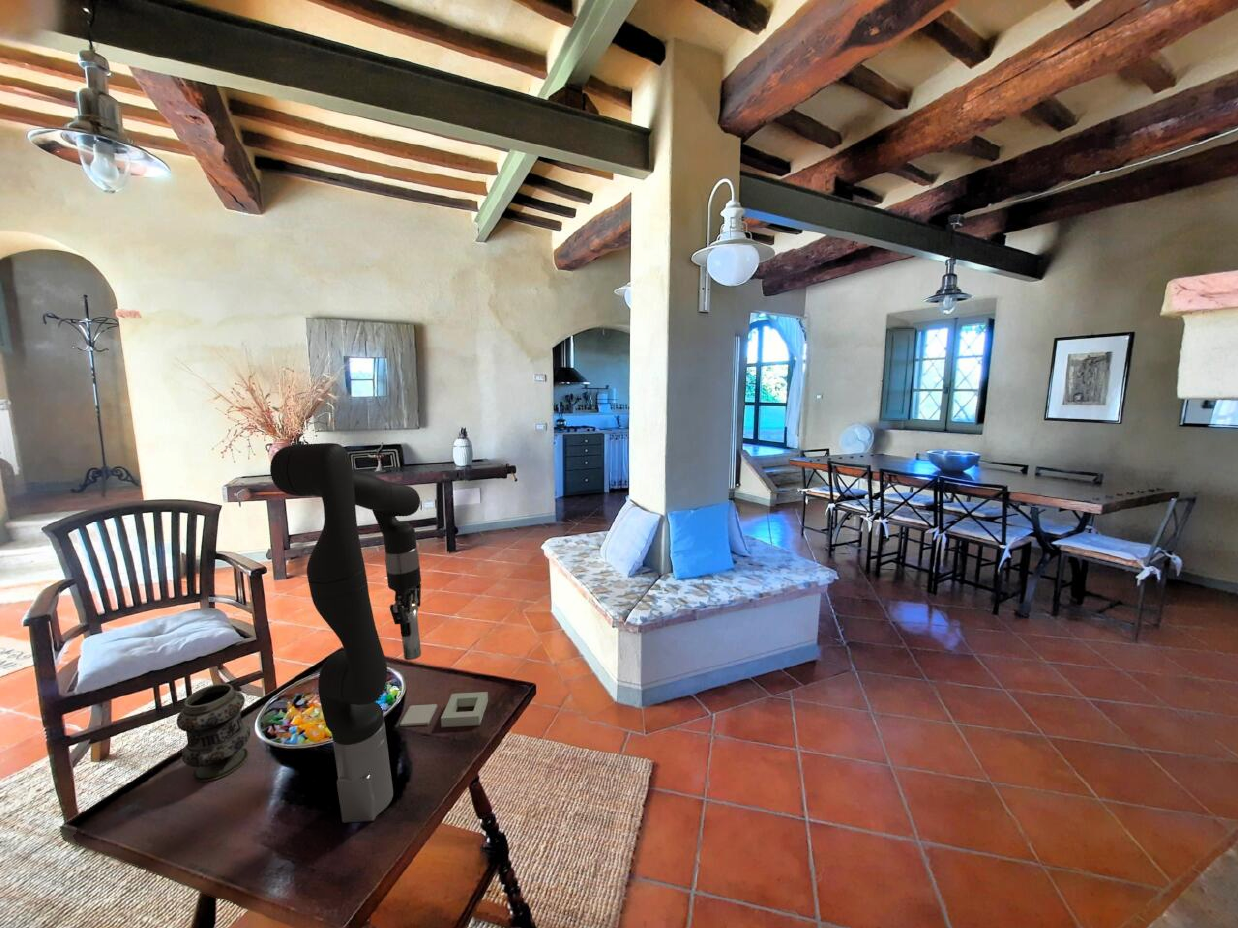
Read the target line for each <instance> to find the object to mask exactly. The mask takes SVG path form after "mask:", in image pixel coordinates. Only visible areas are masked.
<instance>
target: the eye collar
mask: <svg viewBox="0 0 1238 928" xmlns="http://www.w3.org/2000/svg"><path fill="white" fill-rule="evenodd" d="M488 702H489V694H488V691H481V692H461V693H452V694H451V695H450V697H449V700H448V702H447V704H446V706H445V708H444V711H443V712H442V715H441V717H440V724H441V728H449V727H451V728H453V727H466V726H468V727H469V726H480V725H481V723H482V720H483V717H484V713H485V712H486V708H487V705H488ZM460 707H461V708H462V707H463V708H464V707H473V710H472V711H471V710H470V711H457V710H458V708H460Z"/></svg>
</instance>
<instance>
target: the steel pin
mask: <svg viewBox="0 0 1238 928" xmlns="http://www.w3.org/2000/svg"><path fill="white" fill-rule="evenodd" d="M403 609H404V610H407V609H408V607H407V608H403ZM405 616H406V614H405ZM418 619H419V618H418V612H417V609H416V602H415V601H413V602H412V612H410V626H411V635H410V636H409V637H402V636H401V641H402V642H401V643H402V649H403V650H402V651H403V658H404V660H405V661H414V660H417V659H418V658H420V657H421V656H422V650H421V649H422V648H421V640H420V628H419V621H418Z"/></svg>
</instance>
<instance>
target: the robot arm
mask: <svg viewBox="0 0 1238 928" xmlns="http://www.w3.org/2000/svg"><path fill="white" fill-rule="evenodd" d="M269 467H270V468H269V472H270V477H271V480H272V482H273V484H274V486H275V487H276V488H277V489H278V490H279V491H281V493H282V492H283V493H284V494H286V495H290V496H295V497H320V498H321V500H322V502H323V503H322V504H323V512H324V513H323V514H324V515H323V517H324V523H323V526H322V527H323V528H322V531H321V533H320V535H319V537H318V539H317V542H316V543H315V545H314V548H313V550H312V551H311V554H310V555H309V559H308V562H307V565H306V577H307V582H308V586H309V591H310V597H311V599H312V603H313V606H314V608H315V609H316V610H317V612H318V613H319V615H320V616H321V618H322V619H323V620H324V622H325V623H326V625H328V627H329V628H330V629H331V630H332V631H333V633H334V634H335V635H336V636H337V638H338V639H339V641H340V642H341V643H340V644H342V647H343V650H339V651H337V652H333V654H331V655H330V656H329V657H328V658H327V659H326V660H325V661H324V663H323V665H322V667H321V669H320V672H319V676H318V681H317V683H318V684H317V687H318V689H317V690H318V691H317V692H318V697H319V702H320V707H321V711H322V716H323V721H324V724H325V726H326V729H327V730H328V731H330V734H331V738H332V744H333V750H334V757H335V765H336V766H335V767H336V772H337V780H336V787H337V793H338V800H339V806H340V807H339V808H340V813H341V820H342V821H341V822H342V823H353V822H354V823H355V822H356V823H357V822H358V823H359V822H372V821H375V820H376V818H377V816H379V814H380V813H382V812H383V811H384V810H386V808H387V807H388V806H389V804H390V803H391V802H392V799H393V796H394V788H393V787H394V786H393V780H392V773H391V765H390V757H389V756H390V755H389V748H388V742H387V734H386V725H385V717H384V712H383V710H382V708H381V706H380V705H379V704H378V703H376V702H375V701H376V700H377V699H378V698H379V697H380V695H381V694H382V692H383V690H384V688H385V689H386V684H387V679H388V667H387V666H388V664H387V660H386V656H385V652H384V649H383V646H382V643H381V639H380V636H379V634H378V630H377V627H376V621H375V618H374V613H373V607H372V603H371V598H370V594H369V593H370V592H369V585H368V578H367V571H366V567H365V563H364V562H365V561H364V557H363V552H362V547H361V540H360V536H359V529H358V523H357V522H358V521H357V513H356V511H357V509H356V507H357V506H358V507H361V508H364V509H366V510H371V512H372V514H373V516H374V517H375V519H376V523H377V524H378V527H379V529H380V532H381V534H382V537H383V544H384V545H383V546H384V552H385V553H384V554H385V555H384V564H385V565H384V566H385V573H386V579H387V580H386V582H387V587H388V589H390V590H392V591H394V593H395V594H394V602H395V603H394V604H390V605H389V611H390V613H391V616H392V620H393V622H394V625H399V627H400V636H401V638H402V637H409V636H410V635H411V626H410V612H412V602H413V601H415V602H416V609H417V613H418V612H419V607H421V598H422V595H421V593H422V592H421V591H422V584H421V581H422V578H421V577H422V576H421V575H422V574H421V568H420V567H421V566H420V559H419V558H420V557H419V552H418V548H417V540H416V539H417V538H416V532H415V528H414V526H413V525H412V524H409V523H405V522H402V521H400V520H398V518H396V517H409V516H412V515H413V514H415V513H416V512H417V511H418V510H419V508H420V506H421V505H420V504H421V499H420V495H419V493H418V492H417V490H416V489H414V488H413V487H412V486H409V485H406V484H401V483H394V482H388V481H386V479H385V480H384V479H382V478H380V477H378V476H376V475H372V474H369V473H365V472H361V471H354V470H353V465H352V462H351V457H350V455H349V453H348V451H347V449H346V448H345V447H344V446H343V445H341V444H339V443H337V442H336V443H335V442H325V443H324V442H321V443H299V444H298V443H297V444H291V445H287V446H284V447H282V448H280V449H279V450H278V451H276V452H275V453H274V455H273V456H272V458H271V461H270V464H269ZM407 607H408V609H407V610H404V609H403V608H407ZM405 614H406V616H405Z"/></svg>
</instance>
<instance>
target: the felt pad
mask: <svg viewBox="0 0 1238 928" xmlns="http://www.w3.org/2000/svg"><path fill="white" fill-rule="evenodd" d="M437 708H438V704H437V703H434V704H433V703H432V704H417V705H410V706H409V708H408V709H407V710H406V713H405V714H404V716H403V717H402V720H401V722H400V723H399V726H400V727H410V726H423V725H424V726H426V725H427V726H428V725H429V724H430V723H431V720H432V718H433V716H434V713H435V712H436V710H437Z"/></svg>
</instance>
